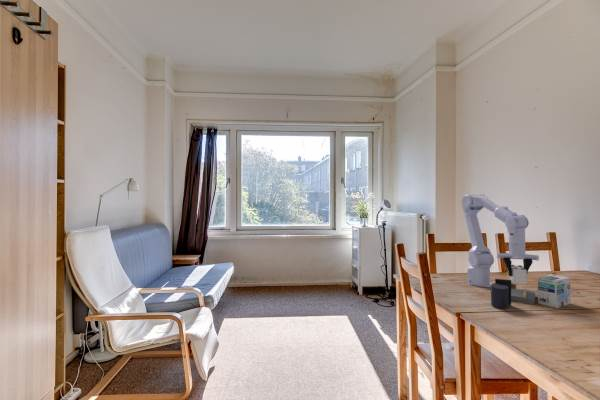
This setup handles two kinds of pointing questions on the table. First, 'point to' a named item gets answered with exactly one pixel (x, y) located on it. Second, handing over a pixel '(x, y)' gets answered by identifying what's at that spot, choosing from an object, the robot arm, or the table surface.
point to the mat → (531, 290)
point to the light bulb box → (554, 290)
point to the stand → (523, 296)
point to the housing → (518, 275)
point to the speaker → (501, 293)
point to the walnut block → (513, 286)
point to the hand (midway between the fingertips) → (517, 276)
